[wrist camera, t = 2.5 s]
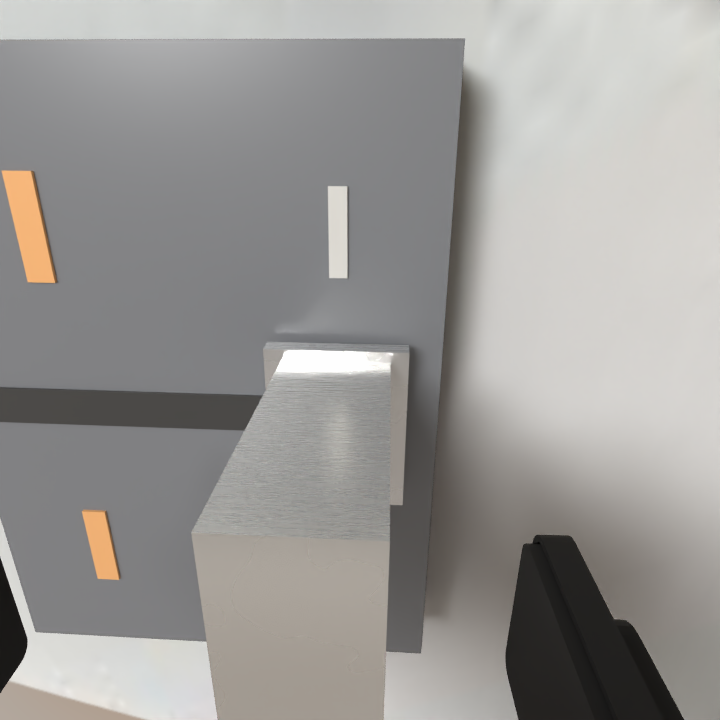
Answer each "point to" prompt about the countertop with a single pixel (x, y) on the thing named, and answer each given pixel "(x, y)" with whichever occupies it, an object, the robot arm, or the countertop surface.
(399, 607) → the panel
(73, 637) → the countertop surface
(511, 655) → the robot arm
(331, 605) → the slide lever
